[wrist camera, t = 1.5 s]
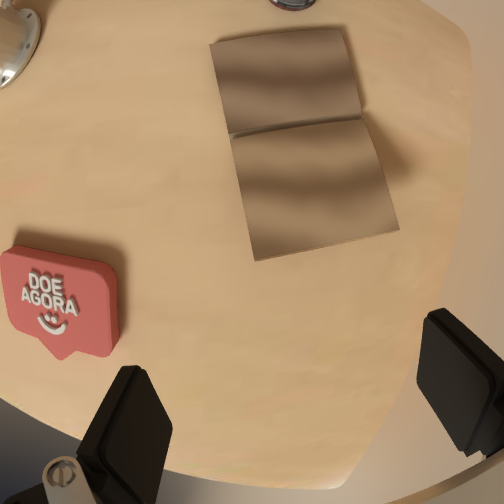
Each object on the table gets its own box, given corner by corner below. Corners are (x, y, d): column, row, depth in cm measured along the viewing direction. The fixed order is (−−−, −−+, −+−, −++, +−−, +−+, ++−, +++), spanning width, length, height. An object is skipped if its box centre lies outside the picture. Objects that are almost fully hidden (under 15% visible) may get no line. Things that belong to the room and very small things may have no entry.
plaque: (12, 345, 33) (-5, 250, 28) (24, 333, 36) (11, 242, 32) (113, 379, 34) (106, 275, 30) (122, 362, 38) (119, 263, 34)
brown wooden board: (210, 48, 26) (209, 44, 25) (337, 32, 26) (340, 29, 25) (230, 141, 30) (230, 140, 28) (359, 121, 29) (363, 120, 28)
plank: (231, 145, 30) (230, 139, 28) (360, 124, 29) (363, 119, 28) (255, 261, 28) (254, 260, 27) (394, 231, 28) (399, 229, 26)
